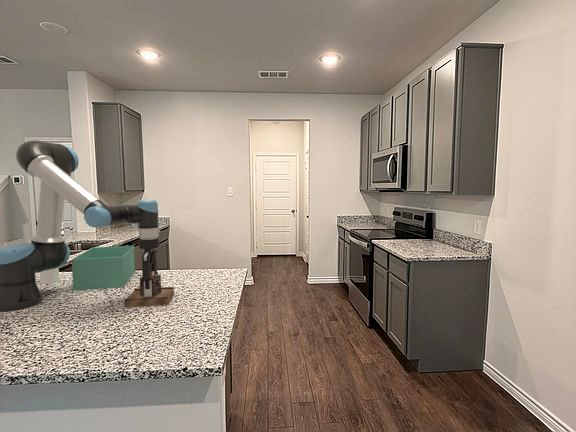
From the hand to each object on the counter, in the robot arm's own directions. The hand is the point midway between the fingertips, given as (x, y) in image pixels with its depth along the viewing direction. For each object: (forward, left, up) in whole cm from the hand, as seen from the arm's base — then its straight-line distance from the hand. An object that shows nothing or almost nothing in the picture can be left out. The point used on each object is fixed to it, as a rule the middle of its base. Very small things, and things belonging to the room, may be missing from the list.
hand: (150, 293), depth 134 cm
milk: (-55, +36, -3) cm, 66 cm away
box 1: (-29, +36, -3) cm, 46 cm away
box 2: (0, 0, -1) cm, 1 cm away
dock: (0, 0, -3) cm, 3 cm away
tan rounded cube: (0, 0, +7) cm, 7 cm away
